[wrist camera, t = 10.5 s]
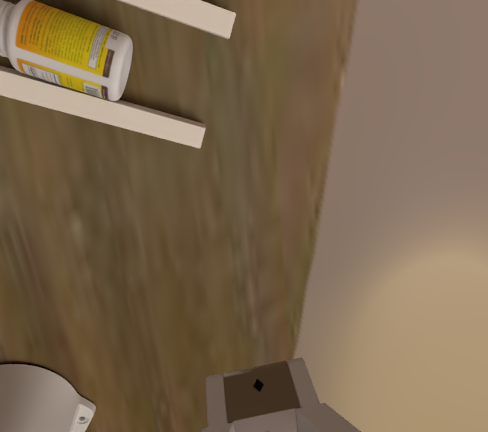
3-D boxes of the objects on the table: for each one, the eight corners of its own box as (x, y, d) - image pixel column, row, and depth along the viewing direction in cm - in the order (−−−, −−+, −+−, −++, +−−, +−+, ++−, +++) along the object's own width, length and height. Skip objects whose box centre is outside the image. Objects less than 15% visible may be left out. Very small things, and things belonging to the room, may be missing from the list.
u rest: (199, 143, 37) (200, 150, 34) (-47, 76, 32) (-69, 79, 29) (233, 15, 33) (237, 12, 30) (-47, -88, 27) (-73, -103, 24)
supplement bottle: (137, 24, 31) (3, -27, 28) (122, 58, 27) (-34, 3, 24) (129, 80, 35) (11, 40, 32) (114, 116, 31) (-20, 75, 28)
